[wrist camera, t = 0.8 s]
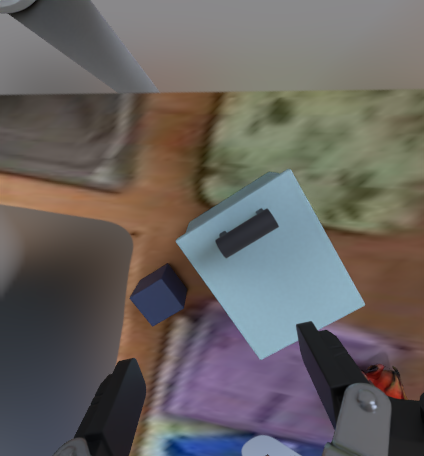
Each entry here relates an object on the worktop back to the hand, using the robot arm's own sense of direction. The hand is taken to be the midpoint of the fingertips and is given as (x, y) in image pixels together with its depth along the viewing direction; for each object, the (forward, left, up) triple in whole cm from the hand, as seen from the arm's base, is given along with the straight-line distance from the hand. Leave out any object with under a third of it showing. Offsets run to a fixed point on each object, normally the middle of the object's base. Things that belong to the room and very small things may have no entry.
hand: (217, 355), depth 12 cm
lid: (0, +6, -14) cm, 15 cm away
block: (+10, -5, -24) cm, 26 cm away
